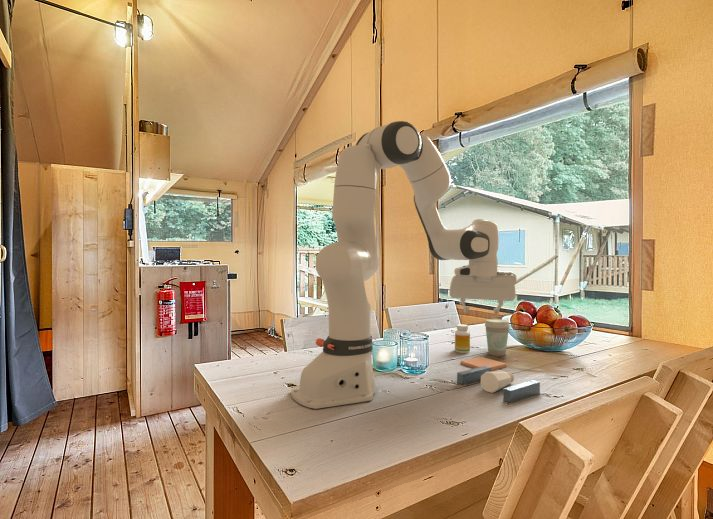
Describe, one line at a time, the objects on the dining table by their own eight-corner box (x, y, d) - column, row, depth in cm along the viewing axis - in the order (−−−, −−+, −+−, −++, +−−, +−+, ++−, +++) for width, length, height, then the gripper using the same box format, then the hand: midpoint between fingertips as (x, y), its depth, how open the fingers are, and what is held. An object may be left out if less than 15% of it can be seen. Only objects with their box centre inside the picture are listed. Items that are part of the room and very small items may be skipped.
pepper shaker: (494, 369, 100) (515, 365, 107) (477, 373, 103) (498, 369, 110) (501, 391, 98) (521, 385, 105) (483, 394, 101) (503, 388, 109)
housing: (510, 403, 93) (510, 390, 93) (457, 383, 107) (457, 372, 107) (539, 393, 99) (539, 381, 99) (485, 375, 114) (485, 365, 114)
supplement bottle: (471, 353, 139) (471, 326, 139) (456, 353, 140) (456, 326, 139) (467, 349, 145) (467, 323, 145) (453, 349, 145) (453, 323, 145)
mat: (485, 372, 118) (485, 368, 118) (460, 364, 126) (460, 361, 126) (506, 366, 123) (506, 363, 123) (481, 359, 131) (481, 356, 131)
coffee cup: (484, 355, 136) (485, 321, 136) (484, 350, 144) (484, 318, 144) (510, 357, 134) (511, 323, 133) (508, 351, 142) (508, 319, 142)
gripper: (514, 271, 126) (512, 313, 126) (449, 268, 129) (448, 310, 129) (519, 272, 119) (517, 316, 120) (451, 269, 123) (449, 313, 123)
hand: (481, 313), depth 125 cm, fingers open, 8 cm apart
